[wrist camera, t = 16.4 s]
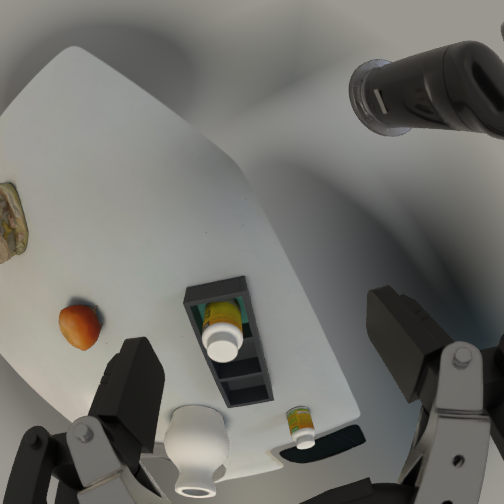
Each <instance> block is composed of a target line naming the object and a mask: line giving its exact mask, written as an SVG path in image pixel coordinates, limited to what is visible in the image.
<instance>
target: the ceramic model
mask: <svg viewBox="0 0 504 504" xmlns="http://www.w3.org/2000/svg"><path fill="white" fill-rule="evenodd" d="M27 240H28V229H27V225H26V222H25V218H24V214H23V211H22V207H21V204H20V201H19V198H18V195H17V192H16V190H15V189H14V187H13V186H12V185H11V184H9V183H5V184H4V183H3V184H0V264H2V263H4V262H5V261H8V260H9V259H10V258H11V257H12V256H13V255H15V254H16V255H20V254H22V253H23V252H24V250H25V248H26V246H27Z"/></svg>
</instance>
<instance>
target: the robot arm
mask: <svg viewBox="0 0 504 504" xmlns="http://www.w3.org/2000/svg"><path fill="white" fill-rule="evenodd" d="M501 34H502V37H503V41H504V22H503V23H502V25H501ZM361 97H362V101H363V104H364V106H365V108H366V110H367V112H368V113H369V115H370V116H371V117H372V118H373V119H374V120H375V121H376V122H378V123H379V124H381V125H383V126H385V127H389V128H401V127H406V128H429V129H445V130H457V131H468V132H477V133H484V134H487V135H489V136H491V137H493V138H497V139H500V140H504V63H503V62H502V60H501V59H500V58H499V56H498V55H497V54H496V53H495V52H494V51H493V50H491V49H490V48H489V47H488V46H486V45H484V44H483V43H480V42H477V41H463V42H459V43H455V44H451V45H447V46H444V47H440V48H436V49H433V50H430V51H426V52H423V53H420V54H417V55H413V56H410V57H407V58H404V59H401V60H398V61H395V62H392V63H389V64H386V65H384V66H380V67H376V68H374V69H372V70H370V71H369V72H368V73H367V74H366V75H365V76H364V78H363V81H362V84H361ZM366 328H367V333H368V336H369V338H370V340H371V342H372V344H373V345H374V347H375V348H376V350H377V352H378V353H379V355H380V356H381V358H382V360H383V361H384V363H385V365H386V366H387V368H388V370H389V371H390V373H391V375H392V376H393V378H394V379H395V381H396V383H397V385H398V386H399V388H400V390H401V391H402V393H403V395H404V396H405V398H406V400H407V402H408V403H411V402H413V401H415V400H418V399H420V401H421V403H422V406H421V410H420V414H419V418H418V423H417V427H416V430H415V434H414V438H413V442H412V445H411V449H410V452H409V456H408V458H407V460H406V462H405V464H404V467H403V468H402V471H401V473H400V476H399V478H398V481H397V483H375V484H371V481H370V478H369V477H368V478H365V479H362V480H360V481H357V482H354V483H350V484H347V485H344V486H341V487H337V488H334V489H330V490H328V491H326V492H324V493H322V494H319V495H317V496H315V497H313V498H311V499H309V500H307V501H305V502H302V503H300V504H478V502H479V498H480V494H481V489H482V484H483V479H484V474H485V469H486V462H487V455H488V447H489V438H490V435H491V437H492V439H493V441H494V443H495V444H496V446H497V448H498V450H499V452H500V454H501V456H502V458H503V460H504V335H502V337H501V339H500V341H499V344H498V346H496V347H492V348H487V349H483V350H478V349H477V348H476V347H475V346H473V345H472V344H469V343H466V342H454V341H453V340H452V339H451V338H450V336H449V335H448V334H447V333H446V332H445V331H444V330H443V329H442V328H441V327H440V326H439V324H438V323H437V322H436V321H435V320H434V319H433V318H432V317H430V315H429V314H428V313H427V312H426V311H424V310H423V308H422V307H421V305H420V304H419V303H418V302H417V301H416V300H414V299H412V298H410V297H408V296H406V295H404V294H403V295H400V296H399V295H398V294H397V293H396V292H395V291H394V290H393V288H392V287H390V286H389V285H386V286H382V287H379V288H376V289H372V290H369V291H368V294H367V318H366ZM100 383H101V384H100V385H99V387H98V389H97V392H96V394H95V397H94V400H93V402H92V405H91V408H90V410H89V413H88V416H83V417H80V418H78V419H76V420H75V421H74V422H73V423H72V424H71V425H70V427H69V428H68V431H67V432H65V433H60V434H55V435H51V434H50V433H49V432H48V431H47V430H46V429H45V428H43V427H42V426H34V427H32V428H30V429H29V430H28V431H26V433H25V434H24V436H23V438H22V440H21V443H20V446H19V449H18V451H17V455H16V457H15V461H14V464H13V467H12V470H11V474H10V477H9V480H8V484H7V488H6V492H5V496H4V500H3V504H47V500H46V498H47V492H48V488H49V483H50V479H51V475H52V476H54V477H55V478H57V479H58V480H59V483H58V488H57V493H56V498H55V504H172V503H171V502H170V501H169V500H168V499H167V497H166V496H165V495H164V493H163V492H162V491H161V489H160V488H159V486H158V485H157V484H156V482H155V481H154V479H153V478H152V477H151V475H150V474H149V472H148V471H147V469H146V468H145V466H144V465H143V463H142V462H141V461H140V455H141V453H153V448H154V441H155V435H156V428H157V422H158V416H159V410H160V405H161V399H162V394H163V388H164V383H165V374H164V370H163V367H162V365H161V363H160V361H159V359H158V357H157V355H156V354H155V352H154V350H153V348H152V346H151V344H150V342H149V340H148V339H147V338H146V337H138V338H130V339H126V340H125V341H124V343H123V345H122V348H121V350H120V353H116V355H115V356H114V357H113V358H112V359H111V360H110V361H109V363H108V364H107V367H106V369H105V372H104V376H103V377H102V379H101V382H100Z"/></svg>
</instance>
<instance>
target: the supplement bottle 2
mask: <svg viewBox="0 0 504 504" xmlns="http://www.w3.org/2000/svg"><path fill="white" fill-rule="evenodd" d="M287 419H288V424H289V429H290V433H291V438H292V440H293V441H295V442H296V445H297V448H298V449H307V448H310V447H312V446H313V445H314V444H315V441H314V438H313V437H314V435H315V429H314V426H313V422H312V419H311V415H310V412H309V409H308V408H306V407H296V408H293V409H291V410H290V411H289V412H288V413H287Z"/></svg>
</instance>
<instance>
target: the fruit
mask: <svg viewBox="0 0 504 504" xmlns="http://www.w3.org/2000/svg"><path fill="white" fill-rule="evenodd" d="M97 307H98V306H96V307H95V308H93V309H92V308H90V307H88V306H85V305H74V306H70V307H67V308H64V309H63V310H61V312H60V315H59V326H60V330H61V332H62V334H63V335H64V337H65V338H66V339H67V341H68V342H69V343H70V344H71V345H72V346H74V347H76V348H78V349H80V350H82V351H85V350H87V349H89V348H90V347H91V346H93V345H94V344H95V342H96V341H97V339H98V337H99V333H100V330H101V327H102V324H100V323H99V321H98V318H97V314H96V308H97Z"/></svg>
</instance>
